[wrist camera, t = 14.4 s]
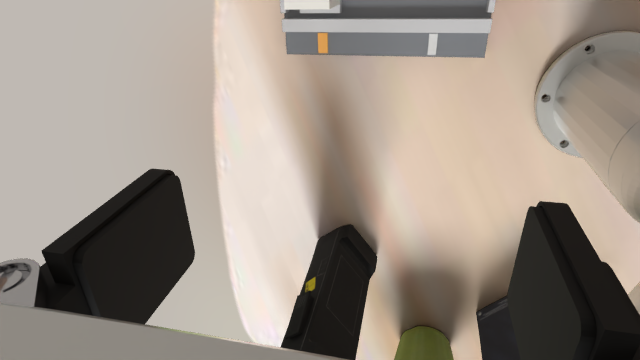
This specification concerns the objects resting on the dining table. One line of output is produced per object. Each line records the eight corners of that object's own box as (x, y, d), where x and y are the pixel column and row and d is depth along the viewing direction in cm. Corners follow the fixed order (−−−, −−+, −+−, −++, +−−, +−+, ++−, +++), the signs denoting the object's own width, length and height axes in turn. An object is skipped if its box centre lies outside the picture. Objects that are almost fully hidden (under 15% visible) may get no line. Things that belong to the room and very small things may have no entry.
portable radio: (310, 234, 57) (240, 400, 35) (345, 215, 54) (292, 382, 33) (344, 274, 59) (297, 454, 37) (379, 258, 56) (350, 442, 35)
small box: (472, 312, 57) (480, 378, 48) (512, 290, 54) (530, 356, 45) (522, 357, 59) (540, 429, 50) (564, 338, 56) (591, 411, 47)
